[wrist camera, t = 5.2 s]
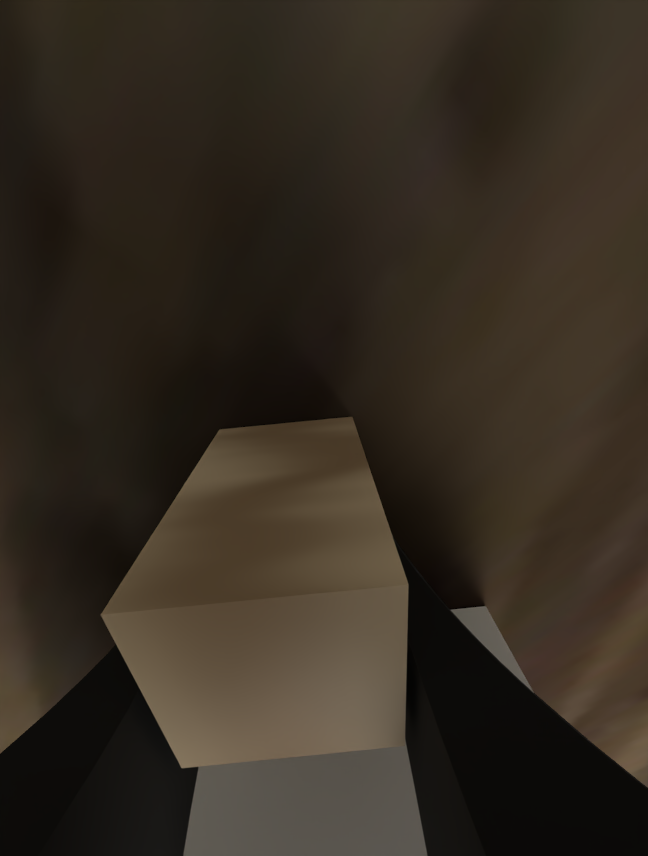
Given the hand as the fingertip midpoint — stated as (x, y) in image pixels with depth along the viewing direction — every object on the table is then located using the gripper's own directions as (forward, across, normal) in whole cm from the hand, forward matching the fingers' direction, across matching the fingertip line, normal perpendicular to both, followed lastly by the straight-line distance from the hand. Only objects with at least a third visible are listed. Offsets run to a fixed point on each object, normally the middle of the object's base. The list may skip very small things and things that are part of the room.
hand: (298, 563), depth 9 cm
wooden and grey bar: (+2, 0, +6) cm, 7 cm away
